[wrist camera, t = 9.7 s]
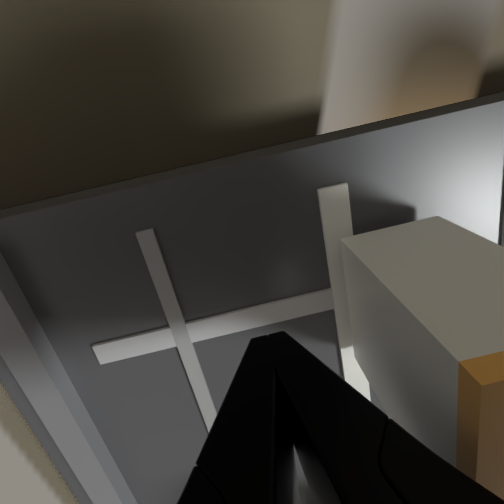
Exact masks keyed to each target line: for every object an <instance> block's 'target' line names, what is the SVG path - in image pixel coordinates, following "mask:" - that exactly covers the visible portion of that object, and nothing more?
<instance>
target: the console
mask: <svg viewBox="0 0 504 504" xmlns="http://www.w3.org/2000/svg"><path fill="white" fill-rule="evenodd" d="M434 216H440V217H442V218H444V219H446V220H448V221H450V222H452V223H454V224H456V225H459V226H461V227H463V228H465V229H467V230H469V231H471V232H473V233H475V234H477V235H480V236H482V237H484V238H486V239H488V240H490V241H492V242H494V243H496V244H498V245H500V246H503V247H504V92H501V93H496V94H492V95H488V96H483V97H479V98H475V99H471V100H466V101H463V102H458V103H454V104H449V105H445V106H441V107H437V108H433V109H428V110H424V111H420V112H416V113H411V114H407V115H403V116H398V117H394V118H390V119H386V120H381V121H377V122H373V123H369V124H364V125H360V126H356V127H352V128H347V129H343V130H339V131H334V132H330V133H326V134H322V135H317V136H313V137H309V138H305V139H300V140H296V141H292V142H288V143H283V144H279V145H275V146H271V147H266V148H262V149H258V150H253V151H249V152H245V153H241V154H236V155H232V156H228V157H224V158H219V159H215V160H211V161H207V162H202V163H198V164H194V165H190V166H185V167H181V168H177V169H173V170H168V171H164V172H160V173H156V174H151V175H147V176H143V177H138V178H134V179H130V180H126V181H121V182H117V183H113V184H109V185H104V186H100V187H96V188H92V189H87V190H83V191H79V192H75V193H70V194H66V195H62V196H58V197H53V198H49V199H45V200H41V201H36V202H32V203H28V204H23V205H19V206H15V207H11V208H6V209H2V210H0V381H1V382H2V384H3V385H4V387H5V389H6V390H7V392H8V393H9V395H10V396H11V398H12V399H13V401H14V402H15V404H16V406H17V407H18V409H19V410H20V412H21V413H22V415H23V416H24V418H25V419H26V421H27V423H28V424H29V426H30V427H31V429H32V430H33V432H34V433H35V435H36V436H37V438H38V440H39V441H40V443H41V444H42V446H43V447H44V449H45V450H46V452H47V453H48V455H49V457H50V458H51V460H52V461H53V463H54V464H55V466H56V467H57V469H58V470H59V472H60V474H61V475H62V477H63V478H64V480H65V481H66V483H67V484H68V486H69V487H70V489H71V491H72V492H73V494H74V495H75V497H76V498H77V500H78V501H79V503H80V504H177V502H178V500H179V498H180V496H181V494H182V491H183V489H184V487H185V485H186V483H187V481H188V478H189V476H190V474H191V471H192V469H193V467H194V466H196V461H197V458H198V456H199V454H200V452H201V449H202V447H203V445H204V443H205V440H206V438H207V436H208V434H209V431H210V429H211V427H212V425H213V422H214V420H215V418H216V415H217V413H218V411H219V409H220V406H221V404H222V402H223V400H224V397H225V395H226V393H227V391H228V388H229V386H230V384H231V382H232V379H233V377H234V375H235V373H236V370H237V368H238V366H239V364H240V361H241V359H242V357H243V355H244V352H245V350H246V348H247V346H248V343H249V341H250V339H251V338H254V337H258V336H262V335H268V334H271V333H275V332H279V331H285V332H287V333H288V334H289V335H290V336H291V337H293V338H294V339H295V340H296V341H298V342H299V343H300V344H301V345H302V346H304V347H305V348H306V349H307V350H308V351H310V352H311V353H312V354H313V355H315V356H316V357H317V358H318V359H319V360H321V361H322V362H323V363H324V364H326V365H327V366H328V367H329V368H330V369H332V370H333V371H334V372H335V373H336V374H338V375H339V376H340V377H341V378H343V379H344V380H345V381H346V382H347V383H349V384H350V385H351V386H352V387H354V388H355V389H356V390H357V391H358V392H360V393H361V394H362V395H363V396H364V397H366V398H367V399H368V400H369V401H371V402H372V403H373V404H374V405H375V406H377V407H378V408H379V409H380V410H382V411H383V412H384V413H385V414H386V412H385V410H384V408H383V407H382V405H381V403H380V401H379V400H378V398H377V396H376V394H375V393H374V391H373V389H372V387H371V385H370V384H369V382H368V380H367V378H366V377H365V375H364V373H363V371H362V369H361V368H360V366H359V364H358V362H357V361H356V359H355V357H354V349H353V341H352V332H351V324H350V316H349V308H348V300H347V292H346V284H345V275H344V267H343V259H342V251H341V243H340V239H341V238H345V237H349V236H354V235H358V234H362V233H366V232H371V231H375V230H379V229H383V228H387V227H392V226H396V225H400V224H404V223H408V222H413V221H417V220H421V219H425V218H429V217H434ZM386 415H387V414H386ZM388 418H389V417H388ZM293 445H294V444H293ZM294 453H295V461H296V470H297V478H298V487H299V496H300V504H315V502H314V499H313V497H312V494H311V491H310V488H309V486H308V483H307V480H306V477H305V475H304V472H303V469H302V466H301V464H300V461H299V458H298V455H297V453H296V450H295V447H294Z"/></svg>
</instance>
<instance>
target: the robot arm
mask: <svg viewBox="0 0 504 504" xmlns="http://www.w3.org/2000/svg"><path fill="white" fill-rule="evenodd" d="M293 444H294V445H293ZM294 447H295V450H296V453H297V455H298V458H299V461H300V464H301V466H302V469H303V472H304V475H305V477H306V480H307V483H308V486H309V488H310V491H311V494H312V497H313V499H314V502H315V504H504V500H503V499H501V498H500V497H498V496H497V495H495V494H494V493H492V492H491V491H489V490H488V489H486V488H485V487H483V486H482V485H480V484H479V483H477V482H476V481H474V480H473V479H471V478H470V477H468V476H467V475H466V474H464V473H463V472H461V471H460V470H458V469H457V468H456V467H454V466H453V465H451V464H450V463H448V462H447V461H445V460H444V459H443V458H441V457H440V456H438V455H437V454H436V453H434V452H433V451H432V450H430V449H429V448H428V447H426V446H425V445H424V444H423V443H421V442H420V441H419V440H417V439H416V438H415V437H414V436H412V435H411V434H410V433H408V432H407V431H406V430H405V429H404V428H402V427H401V426H400V425H399V424H398V423H396V422H395V421H394V420H393V419H391V418H388V416H387V415H386V414H385V413H384V412H383V411H382V410H380V409H379V408H378V407H377V406H375V405H374V404H373V403H372V402H371V401H369V400H368V399H367V398H366V397H364V396H363V395H362V394H361V393H360V392H358V391H357V390H356V389H355V388H354V387H352V386H351V385H350V384H349V383H347V382H346V381H345V380H344V379H343V378H341V377H340V376H339V375H338V374H336V373H335V372H334V371H333V370H332V369H330V368H329V367H328V366H327V365H326V364H324V363H323V362H322V361H321V360H319V359H318V358H317V357H316V356H315V355H313V354H312V353H311V352H310V351H308V350H307V349H306V348H305V347H304V346H302V345H301V344H300V343H299V342H298V341H296V340H295V339H294V338H293V337H291V336H290V335H289V334H288V333H287V332H285V331H279V332H275V333H271V334H268V335H262V336H258V337H254V338H251V339H250V341H249V343H248V346H247V348H246V350H245V352H244V355H243V357H242V359H241V361H240V364H239V366H238V368H237V370H236V373H235V375H234V377H233V379H232V382H231V384H230V386H229V388H228V391H227V393H226V395H225V397H224V400H223V402H222V404H221V406H220V409H219V411H218V413H217V415H216V418H215V420H214V422H213V425H212V427H211V429H210V431H209V434H208V436H207V438H206V440H205V443H204V445H203V447H202V449H201V452H200V454H199V456H198V458H197V461H196V466H194V467H193V469H192V471H191V474H190V476H189V478H188V481H187V483H186V485H185V487H184V489H183V491H182V494H181V496H180V498H179V500H178V502H177V504H300V496H299V487H298V478H297V470H296V461H295V453H294Z"/></svg>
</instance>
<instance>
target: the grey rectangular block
mask: <svg viewBox="0 0 504 504" xmlns="http://www.w3.org/2000/svg"><path fill="white" fill-rule="evenodd" d="M340 243H341V251H342V259H343V267H344V275H345V284H346V292H347V300H348V308H349V316H350V324H351V332H352V341H353V349H354V357H355V359H356V361H357V362H358V364H359V366H360V368H361V369H362V371H363V373H364V375H365V377H366V378H367V380H368V382H369V384H370V385H371V387H372V389H373V391H374V393H375V394H376V396H377V398H378V400H379V401H380V403H381V405H382V407H383V408H384V410H385V412H386V414H387V416H388V417H389V418H391V419H393V420H394V421H395V422H396V423H398V424H399V425H400V426H401V427H402V428H404V429H405V430H406V431H407V432H408V433H410V434H411V435H412V436H414V437H415V438H416V439H417V440H419V441H420V442H421V443H423V444H424V445H425V446H426V447H428V448H429V449H430V450H432V451H433V452H434V453H436V454H437V455H438V456H440V457H441V458H443V459H444V460H445V461H447V462H448V463H450V464H451V465H453V466H454V467H456V468H457V469H458V470H460V471H461V472H463V473H464V474H466V475H467V476H468V477H470V478H471V479H473V480H474V481H476V482H477V483H479V484H480V485H482V486H483V487H485V488H486V489H488V490H489V491H491V492H492V493H494V494H495V495H497V496H498V497H500V498H501V499H503V500H504V247H503V246H500V245H498V244H496V243H494V242H492V241H490V240H488V239H486V238H484V237H482V236H480V235H477V234H475V233H473V232H471V231H469V230H467V229H465V228H463V227H461V226H459V225H456V224H454V223H452V222H450V221H448V220H446V219H444V218H442V217H440V216H434V217H429V218H425V219H421V220H417V221H413V222H408V223H404V224H400V225H396V226H392V227H387V228H383V229H379V230H375V231H371V232H366V233H362V234H358V235H354V236H349V237H345V238H341V239H340Z"/></svg>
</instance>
